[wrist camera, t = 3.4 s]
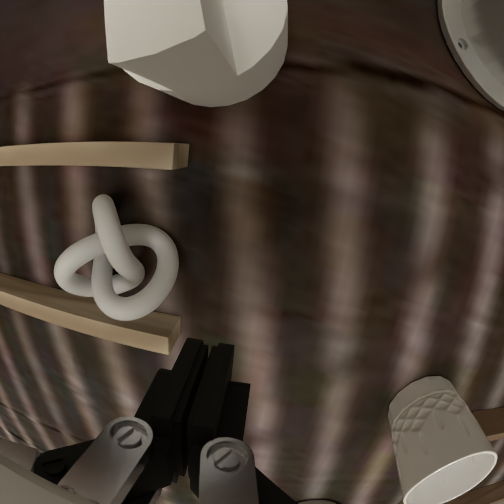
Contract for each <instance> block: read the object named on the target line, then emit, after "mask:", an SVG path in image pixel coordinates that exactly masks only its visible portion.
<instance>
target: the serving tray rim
mask: <svg viewBox="0 0 504 504" xmlns="http://www.w3.org/2000/svg"><path fill="white" fill-rule="evenodd" d="M472 414H473V415H474V417H475V418H476V420H477V421H478V423H479V425H480V426H481V428H482V430H483V432H484V433H485V435H486V437H487V438H488V440H489V441H493V440H497V439H502V438H504V407H501V408H495V409H488V410H481V411H473V412H472ZM502 500H504V480H503V481H500V482H497V483H494V484H491V485H488V486H485V487H482V488H478V489H475V490H471V491H468V492H466V493H464V494H462V495H460V496H458V497H457V498H455V499H452V500H450V501H448V502H445V503H443V504H495V503H497V502H500V501H502ZM399 504H404V503H403V500H402V501H401V502H400V503H399Z"/></svg>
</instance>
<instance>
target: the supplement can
mask: <svg viewBox="0 0 504 504" xmlns="http://www.w3.org/2000/svg"><path fill="white" fill-rule="evenodd" d="M298 504H336V503H334V502H331V501H326V500H310V501H303V502H300V503H298Z"/></svg>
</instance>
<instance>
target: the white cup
mask: <svg viewBox="0 0 504 504" xmlns="http://www.w3.org/2000/svg"><path fill="white" fill-rule="evenodd" d="M388 419H389V423H390V427H391V431H392V442H393V446H394V451H395V459H396V464H397V469H398V474H399V480H400V486H401V492H402V498H403V503H404V504H443V503H445V502H448V501H450V500H452V499H455V498H457V497H458V496H460V495H462V494H464V493H466V492H467V491H469V490H470V489H472V488H473V487H475V486H476V485H477V484H478V483H480V482H481V481H482V480H483V479H484V478H485V477H486V476H487V475H488V474H489V473H490V472H491V471H492V469H493V468H494V466H495V464H496V462H497V454H496V452H495V451H494V449H493V447H492V445H491V444H490V442H489V440H488V438H487V437H486V435H485V433H484V432H483V430H482V428H481V426H480V425H479V423H478V421H477V420H476V418H475V417H474V415H473V414H472V412H471V411H470V410H469V408H468V406H467V405H466V403H465V402H464V401H463V400H462V399H461V397H460V396H459V395H458V393H457V391H456V390H455V388H454V387H453V385H452V383H451V382H450V381H449V380H447V379H445V378H443V377H441V376H429V377H424V378H422V379H419V380H417V381H414V382H412V383H410V384H409V385H408V386H406V387H405V388H404V389H402V390H401V391H400V392H398V393H397V395H396V396H395V398H394V399H393V400H392V402H391V403H390V405H389V411H388Z"/></svg>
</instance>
